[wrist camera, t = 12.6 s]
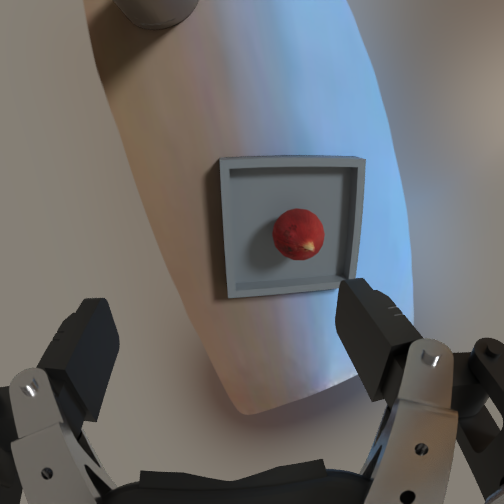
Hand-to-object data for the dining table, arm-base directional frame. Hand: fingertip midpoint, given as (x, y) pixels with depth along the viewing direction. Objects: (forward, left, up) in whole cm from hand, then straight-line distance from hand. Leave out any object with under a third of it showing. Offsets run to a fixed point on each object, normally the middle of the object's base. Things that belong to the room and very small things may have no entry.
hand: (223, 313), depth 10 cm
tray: (+6, +9, -28) cm, 30 cm away
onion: (+6, +9, -27) cm, 29 cm away
